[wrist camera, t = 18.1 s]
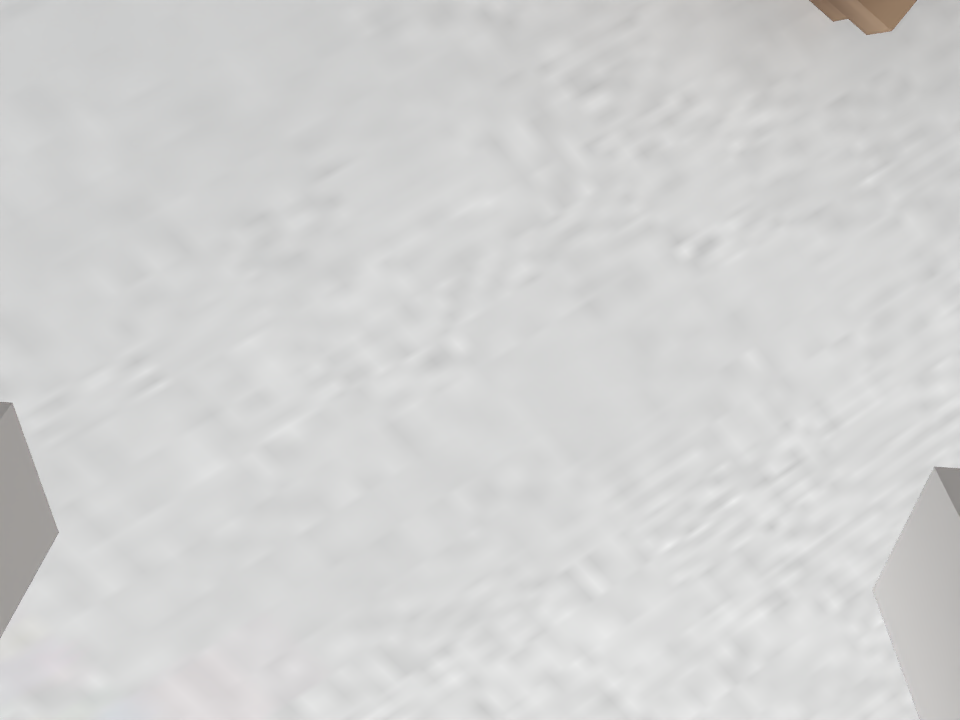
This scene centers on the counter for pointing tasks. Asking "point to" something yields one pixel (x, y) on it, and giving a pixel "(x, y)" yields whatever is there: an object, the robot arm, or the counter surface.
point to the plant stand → (867, 12)
